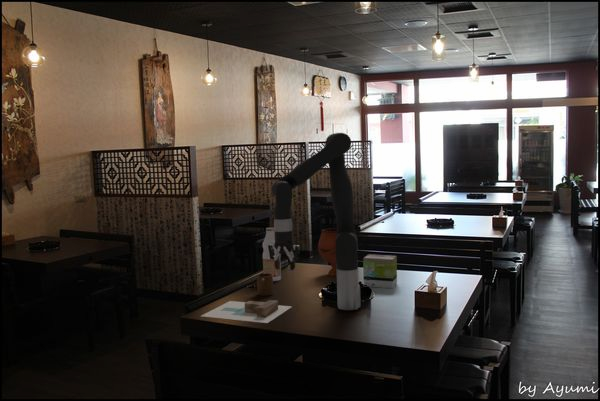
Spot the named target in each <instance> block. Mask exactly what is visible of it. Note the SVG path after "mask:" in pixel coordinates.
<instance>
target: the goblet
mask: <svg viewBox="0 0 600 401" xmlns="http://www.w3.org/2000/svg"><path fill="white" fill-rule="evenodd" d="M336 238H337V227H335V228H332V227H331V228H325V229H322V230H321V234H320V237H319V241H318V245H317V251H318V254H319V255H320V257H321V258H322V259H323V260H324V261H325V262H327V263H329V264H330V267H331V269H329V270H328V273H327V274H328V276H332V277H334V276H335V277H337V268H336V254H335V241H336Z"/></svg>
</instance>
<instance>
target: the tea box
mask: <svg viewBox="0 0 600 401" xmlns="http://www.w3.org/2000/svg"><path fill="white" fill-rule="evenodd" d="M397 261H398V259H397V255H390V254H389V255H386V254H383V255H382V254H367V255H366V256H364V257H363V258H362V263H363V265H362V269H363V270H362V271H363V272H362V273H363V285H364V284H365V285H367V286H366V287H370V288H371V287H373V288H374V287H375V288H384V289H394V287H396V286H397V284H398V283H397V282H398V270H397V269H398V266H397V265H398V262H397Z"/></svg>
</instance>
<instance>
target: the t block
mask: <svg viewBox="0 0 600 401" xmlns="http://www.w3.org/2000/svg"><path fill="white" fill-rule="evenodd" d="M278 305H279V300H277V299H275V300H273V299H268V300H267V301H265V302H264V301H255V300H248V301H246V303H245V313H255V314H257V317H263V318H266V317H267V316H269V315H271V314H272V313H274V312H275V311H277V310H278Z"/></svg>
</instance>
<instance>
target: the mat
mask: <svg viewBox="0 0 600 401" xmlns="http://www.w3.org/2000/svg"><path fill="white" fill-rule="evenodd" d="M246 302H247V301H246ZM246 302H245V301H234V300H229V301H227V302H225V303H223V304H221V305H219V306H217V307H216V308H214V309H211V310H209V311H208V312H205V313H204V314H202V315H200V317H201V318H202V317H206V318H212V319H213V318H215V319H225V320H233V321H234V320H235V321H243V322H253V323H262V324H263V323H264V324H268V323H270V322H271V321H273V320H275V319H276V318H277V317H279V316H281V315H282V314H284V313H285V312H286V311H288V310H289V309H291V308H293V306H290V305H280V304H278V310H277V311H275V312H274V313H272V314H271V315H269V316H267V317H266V318H263V317H257V314H255V313H245V303H246Z"/></svg>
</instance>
